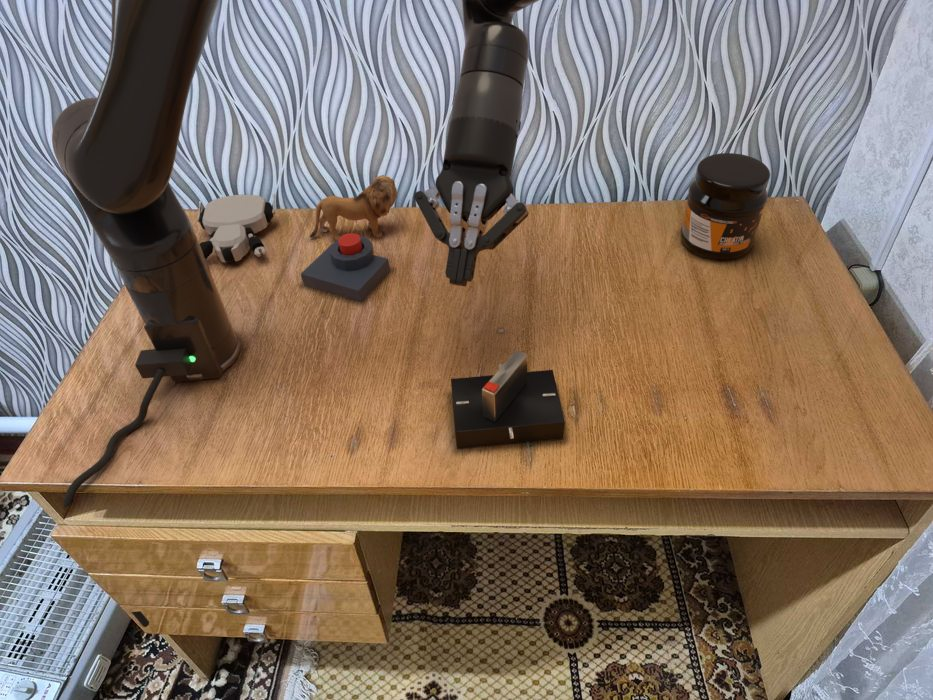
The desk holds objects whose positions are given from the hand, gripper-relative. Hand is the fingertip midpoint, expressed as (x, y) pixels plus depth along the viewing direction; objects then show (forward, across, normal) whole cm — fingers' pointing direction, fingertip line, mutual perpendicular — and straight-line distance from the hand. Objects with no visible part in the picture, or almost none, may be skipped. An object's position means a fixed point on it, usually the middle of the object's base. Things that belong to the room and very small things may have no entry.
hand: (458, 284), depth 71 cm
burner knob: (+12, +6, +4) cm, 14 cm away
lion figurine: (-9, -25, +29) cm, 40 cm away
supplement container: (-15, +29, +35) cm, 48 cm away
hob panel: (+14, +6, +7) cm, 17 cm away
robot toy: (-4, -43, +25) cm, 50 cm away
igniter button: (-5, -22, +20) cm, 30 cm away
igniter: (-1, -22, +21) cm, 31 cm away
